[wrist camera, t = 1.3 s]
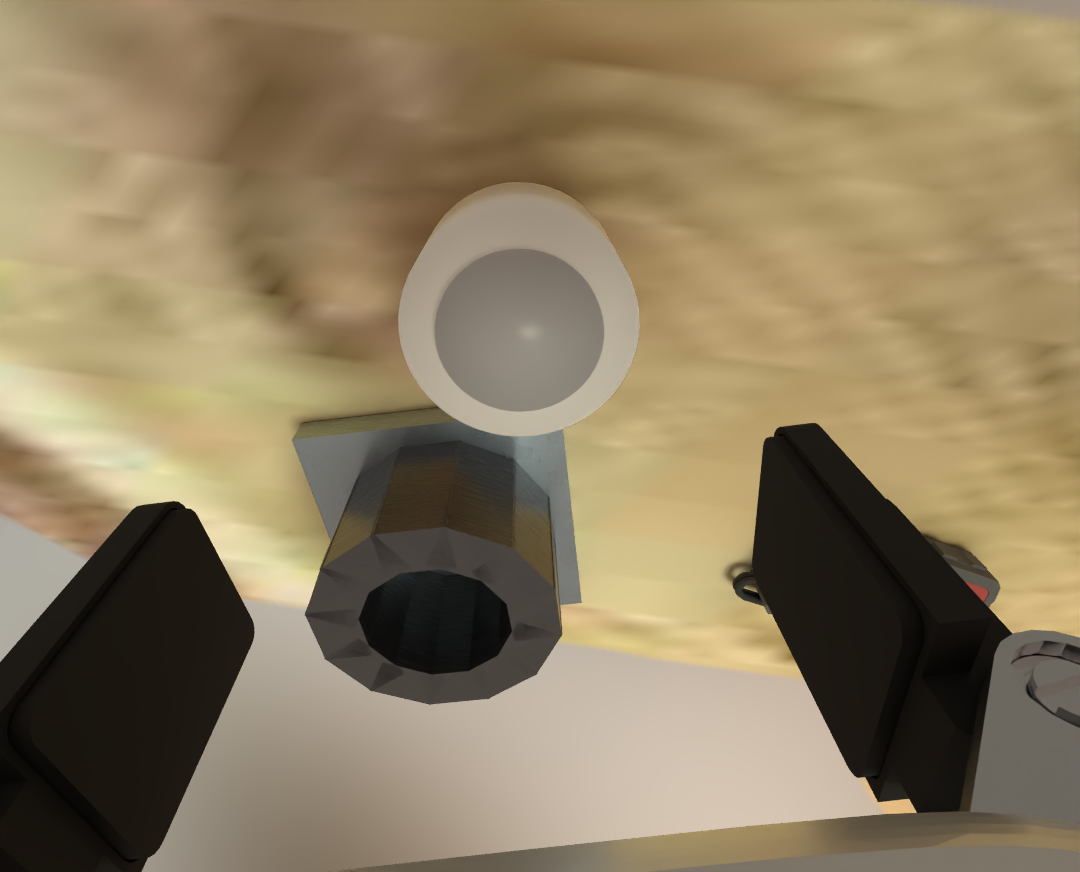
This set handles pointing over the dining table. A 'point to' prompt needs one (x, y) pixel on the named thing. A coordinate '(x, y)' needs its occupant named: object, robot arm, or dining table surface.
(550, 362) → the cup
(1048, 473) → the dining table surface
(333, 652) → the gray square-based holder
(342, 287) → the dining table surface
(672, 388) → the dining table surface
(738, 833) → the robot arm
